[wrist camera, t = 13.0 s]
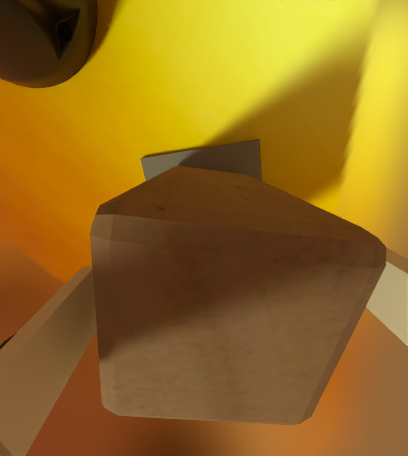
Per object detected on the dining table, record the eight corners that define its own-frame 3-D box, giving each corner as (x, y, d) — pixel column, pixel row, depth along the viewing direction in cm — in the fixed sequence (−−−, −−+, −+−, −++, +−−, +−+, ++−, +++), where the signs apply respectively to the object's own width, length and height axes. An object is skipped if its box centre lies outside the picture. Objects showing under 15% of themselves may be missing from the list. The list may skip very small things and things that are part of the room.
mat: (141, 158, 24) (140, 158, 24) (258, 139, 24) (259, 139, 23) (166, 259, 29) (165, 261, 29) (263, 246, 29) (264, 247, 28)
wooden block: (253, 174, 25) (418, 242, 6) (238, 248, 28) (314, 437, 9) (171, 164, 24) (70, 202, 5) (165, 240, 28) (93, 426, 9)
